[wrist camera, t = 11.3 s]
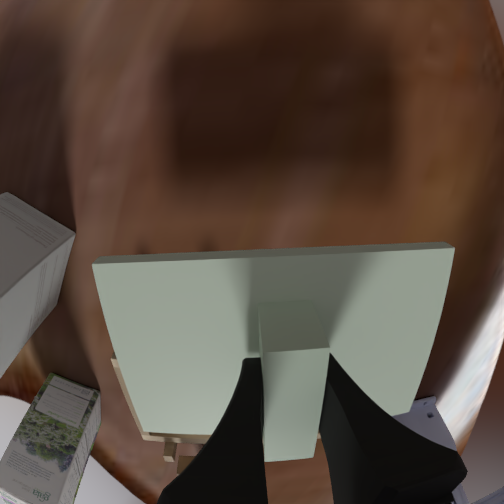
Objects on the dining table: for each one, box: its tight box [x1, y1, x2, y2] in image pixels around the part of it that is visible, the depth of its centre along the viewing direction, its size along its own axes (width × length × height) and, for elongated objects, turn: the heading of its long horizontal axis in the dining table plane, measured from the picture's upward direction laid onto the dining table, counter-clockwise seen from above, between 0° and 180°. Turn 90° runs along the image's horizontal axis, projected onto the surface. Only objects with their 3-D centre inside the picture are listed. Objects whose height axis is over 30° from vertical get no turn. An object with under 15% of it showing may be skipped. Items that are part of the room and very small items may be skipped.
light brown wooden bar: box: [177, 456, 196, 476], centre depth 25 cm, size 2×12×2 cm, turn 1°
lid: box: [92, 242, 455, 462], centre depth 12 cm, size 14×10×4 cm, turn 92°
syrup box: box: [0, 373, 101, 504], centre depth 20 cm, size 6×6×14 cm
